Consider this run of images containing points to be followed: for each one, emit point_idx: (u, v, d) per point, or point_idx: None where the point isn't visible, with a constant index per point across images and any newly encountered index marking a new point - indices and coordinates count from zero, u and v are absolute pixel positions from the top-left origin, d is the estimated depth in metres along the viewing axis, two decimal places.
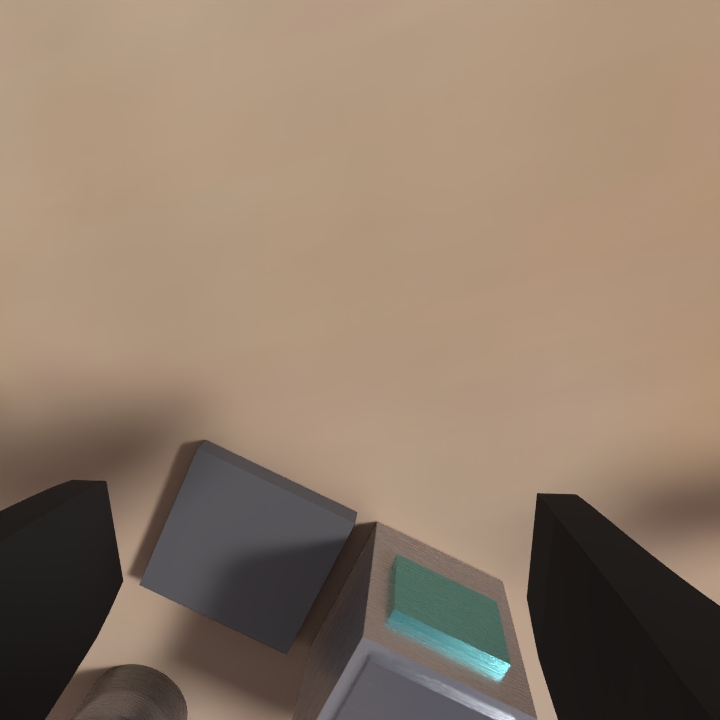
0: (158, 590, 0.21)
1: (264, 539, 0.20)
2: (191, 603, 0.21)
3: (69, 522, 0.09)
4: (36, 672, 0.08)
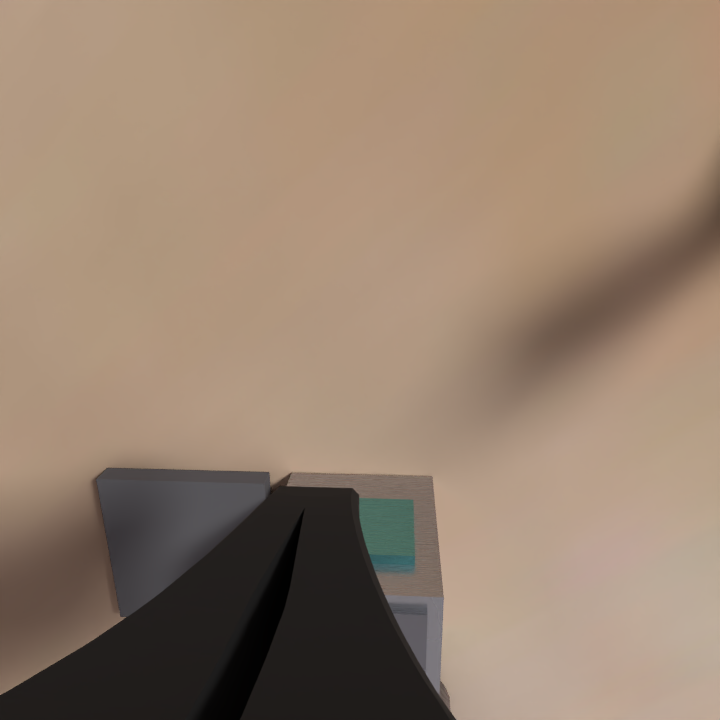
0: None
1: (197, 532, 0.21)
2: None
3: None
4: None
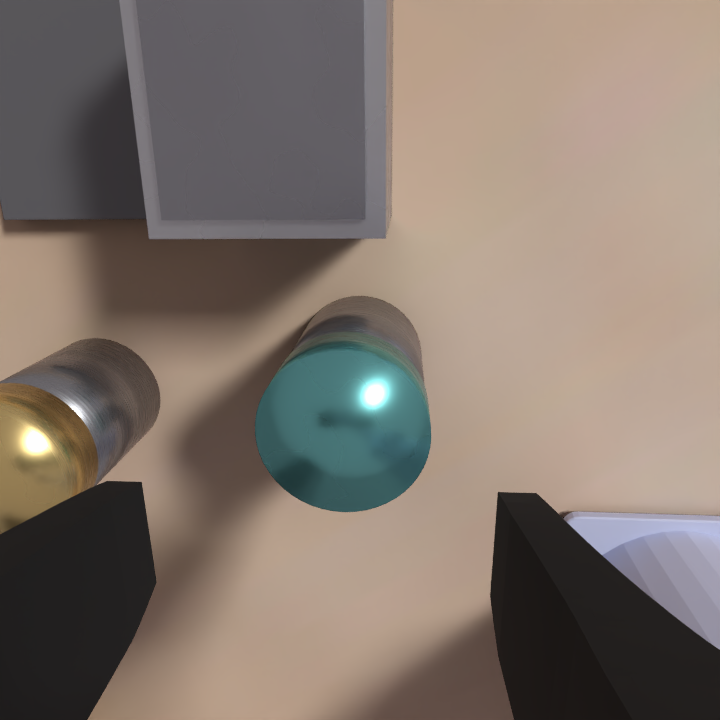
0: (29, 219, 0.18)
1: (92, 75, 0.16)
2: (66, 211, 0.17)
3: (109, 523, 0.08)
4: (78, 674, 0.08)
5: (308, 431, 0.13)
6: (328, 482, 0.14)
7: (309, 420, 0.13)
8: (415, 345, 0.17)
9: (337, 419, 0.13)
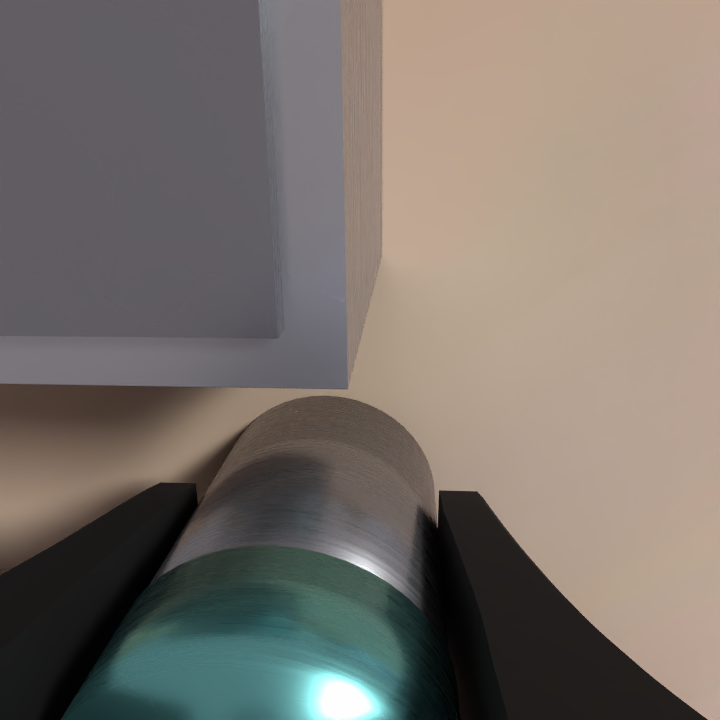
0: None
1: None
2: None
3: (169, 525, 0.08)
4: None
5: None
6: None
7: None
8: (426, 509, 0.09)
9: None
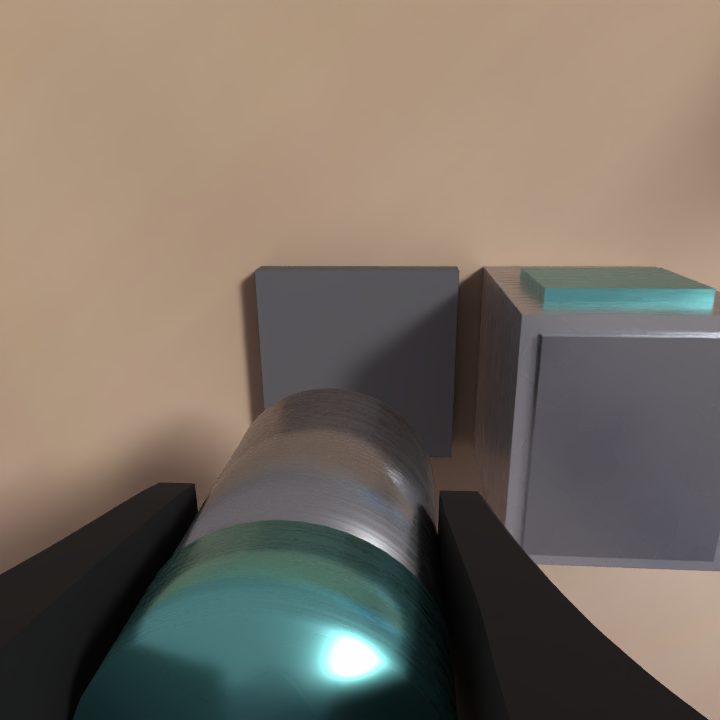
0: None
1: (370, 339, 0.17)
2: None
3: (168, 526, 0.08)
4: None
5: None
6: None
7: None
8: (415, 478, 0.09)
9: None
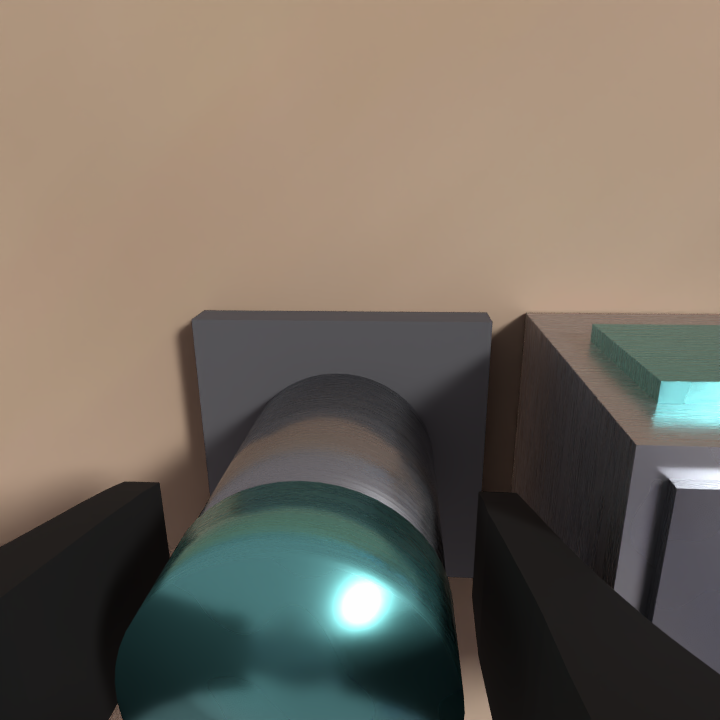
0: None
1: None
2: None
3: (128, 524, 0.08)
4: (100, 675, 0.08)
5: (220, 705, 0.07)
6: None
7: (217, 686, 0.07)
8: (417, 453, 0.10)
9: (271, 680, 0.07)
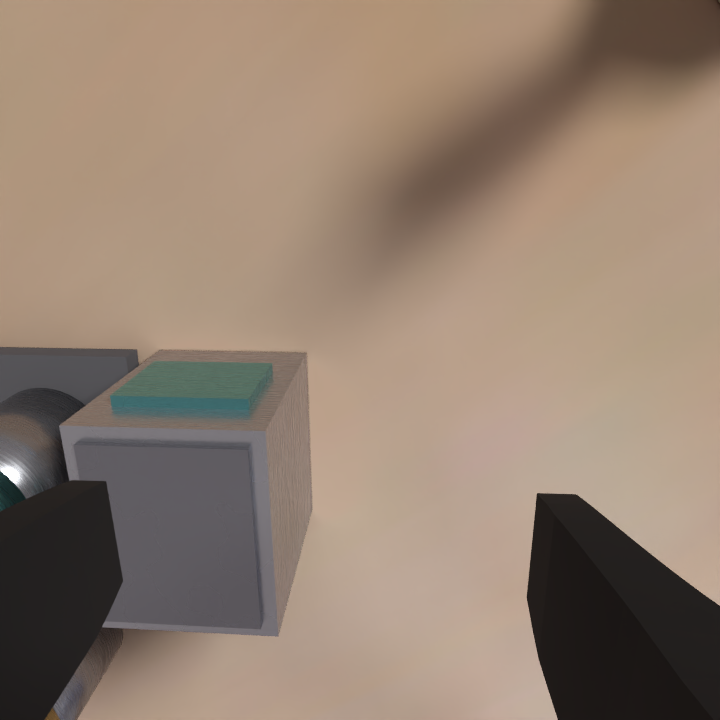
0: None
1: None
2: None
3: (69, 522, 0.09)
4: (37, 672, 0.08)
5: None
6: None
7: None
8: (59, 435, 0.18)
9: None
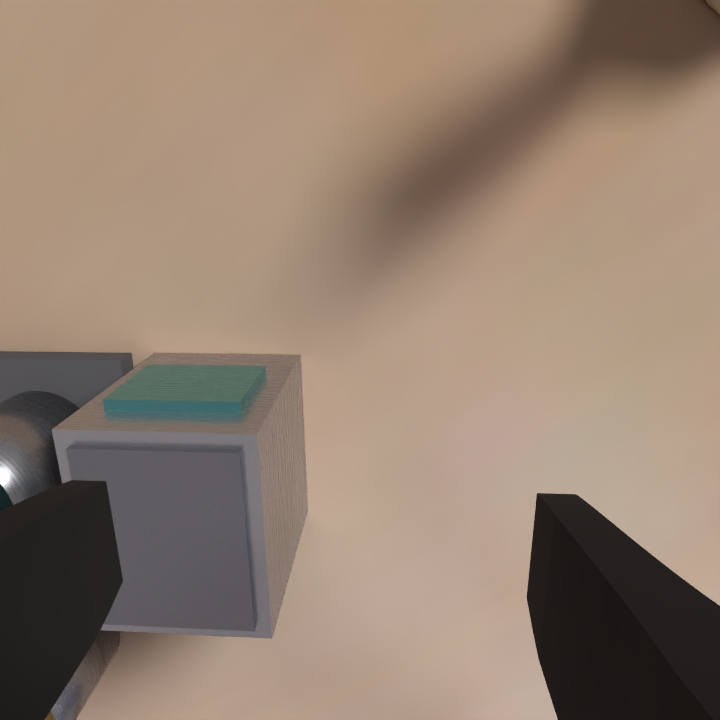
0: None
1: None
2: None
3: (69, 522, 0.09)
4: (36, 672, 0.08)
5: None
6: None
7: None
8: (47, 434, 0.18)
9: None
